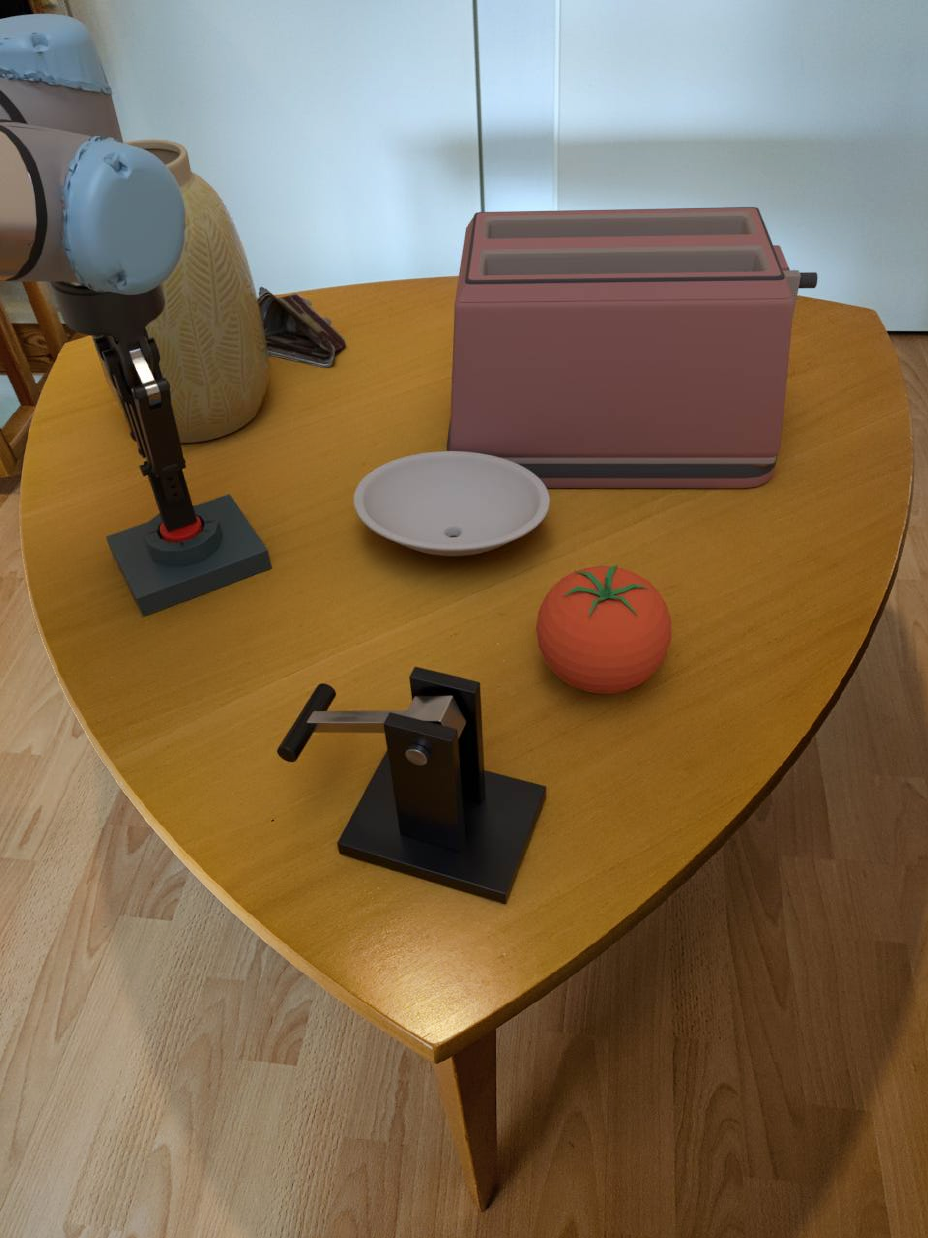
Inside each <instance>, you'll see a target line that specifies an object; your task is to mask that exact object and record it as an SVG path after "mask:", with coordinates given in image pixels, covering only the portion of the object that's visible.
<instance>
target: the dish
mask: <svg viewBox="0 0 928 1238" xmlns="http://www.w3.org/2000/svg"><path fill="white" fill-rule="evenodd" d="M550 505H551V498H550V493H549V490H548V488H546V486H545V485H544V483H543V482H542V481H541V480H540V479H539V478H538V477H537V476H536V475H535V474H534V473H532V472H531V471H529V470H528V469H526V468H524V467H522V466H520V465H518V464H516V463H514V462H511V461H509V460H506V459H503V458H499V457H496V456H492V455H487V454H481V453H474V452H464V451H447V450H443V451H442V450H440V451H429V452H428V451H427V452H422V453H416V454H411V455H407V456H403V457H399V458H396V459H394V460H391V461H388V462H386V463H384V464H382V465H379V466H378V467H376V468H375V469H373V470H371V471H370V472H369V473H367V474H366V475H365V476H364V477H363V478H362V479H361V480H360V482H359V483H358V484H357V486H356V488H355V490H354V494H353V508H354V510H355V513H356V514H357V516H358V518H359V520H360V521H361V522H362V523H363V524H364V525H365V526H366V527H367V528H369V529H370V530H372V532H374V533H376V534H377V535H379V536H381V537H383V538H385V539H387V540H389V541H392V542H394V543H397V544H400V545H401V546H404V547H406V548H408V549H411V550H414V551H416V552H420V553H424V554H427V555H428V554H429V555H433V556H440V557H464V556H465V557H466V556H473V555H478V554H479V555H480V554H483V553H486V552H489V551H493V550H495V549H498V548H501V547H502V546H504V545H507V544H509V543H511V542H513V541H515V540H518V539H521V538H523V537H524V536H525V535H527V534H529V533H531V531H533V530H535V529H536V528H537V527H538V526H539V525H540V524H541V523H542V522H543V521H544V520H545V518H546V516H547V515H548V512H549V509H550Z"/></svg>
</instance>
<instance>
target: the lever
mask: <svg viewBox="0 0 928 1238" xmlns="http://www.w3.org/2000/svg"><path fill="white" fill-rule="evenodd" d="M336 696H337V692H336V690H335V688H334V687H333V686H332V685H330V684H328V683H324V682H322V683H319V684H317V686H316V687H315V689H314V690H313V692H312V694H311V696H310V697H309V698H308V700H307V702H306V703H305V705H304V707H303V708H302V709H301V711H300V712H299V714H298V716H297V717H296V719H295V720H294V722H293V724H292V725H291V726H290V728H289V730H288V732H287V733H286V735H285V736H284V738H283V740H282V741H281V742H280V744H279V746H278V747H277V749H276V754H277V755H278V757H279V758H281V759H282V760H283V761H285V762H288V763H295V762H297V761H298V759H299V758H300V755H301V754H302V752H303V751H304V749H305V747H306V746H307V744H308V743H309V741H310V739H311V738H312V736H313V735H314V734H315V733H316V734H319V733H320V734H329V733H330V734H385V732H384V725H383V723H384V721H385V720H386V718H387V716H388V714H389V712H392V713H395V714H399V715H403V716H407V717H411V718H415V719H419V720H423V721H427V722H431V723H434V724H438V725H442V726H446V727H450V728H454V729H457V732H458V739H459V737H460V735H461V733H462V731H463V729H464V727H465V724H466V720H465V718H464V716H463V714H462V712H461V711H460V709H459V707H458V705H457V703H456V701H455V699H454V697H453V696H415V697H414V699H413V701H412V700H411V702H410V704H409V706H408V708H407V709H398V710H396V709H395V710H394V709H389V710H387V709H386V710H380V709H379V710H329V708H330V706H331V705H332V703H333V701H334V700H335V698H336Z"/></svg>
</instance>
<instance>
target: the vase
mask: <svg viewBox="0 0 928 1238" xmlns="http://www.w3.org/2000/svg"><path fill="white" fill-rule="evenodd" d="M123 143H124V144H128V145H131V146H135V147H139V148H141V149H144V150H146V151H148V152H150V153H152V154H154V155H155V156H156V157H157V158H159V159H160V160H161V161H162V162H163V163H164V164H165V165H166V166H167V168H168V169H169V170H170V172H171V173H172V174H173V176H174V177H175V179H176V181H177V183H178V185H179V188H180V190H181V193H182V196H183V200H184V204H185V210H186V218H185V224H186V228H185V231H184V233H185V242H184V246H183V250H182V253H181V256H180V258H179V260H178V262H177V264H176V266H175V268H174V270H173V271H172V273H171V274H170V275H169V276H168V278H167V279H166V280H165V281H163V282H162V283H161V286H162V289H163V293H164V297H165V307H164V309H163V311H162V313H161V314H160V315H159V316H158V317H157V318H156V319H155V320H153V321H151V322H150V323H149V324H148V325H147V326H146V327H145V328H146V331H147V333H148V337H149V338H152V337H153V338H154V340H155V342H156V344H157V347H158V351H159V354H160V362H159V366H160V370H161V373H162V377H163V378H165V379H167V381H168V382H169V384H170V387H171V388H170V392H171V404H172V408H173V413H174V417H175V421H176V426H177V430H178V435H179V439H180V443H181V444H193V443H194V444H195V443H201V442H207V441H212V440H215V439H220V438H222V437H225V436H227V435H230V434H232V433H234V432H236V431H238V430H240V429H242V428H243V427H244V426H246V425H247V424H248V423H250V422H251V421H252V420H253V419H254V418H255V417H256V415H257V414H258V412H259V411H260V409H261V406H262V404H263V401H264V397H265V394H266V392H267V389H268V385H269V377H270V360H269V359H270V357H269V354H268V350H267V343H266V338H265V332H264V326H263V322H262V317H261V312H260V308H259V303H258V296H257V292H256V287H255V284H254V280H253V275H252V272H251V268H250V265H249V261H248V257H247V255H246V254H247V253H246V251H245V249H244V245H243V243H242V239H241V237H240V236H241V235H240V234H239V231H238V228H237V226H236V223H235V221H234V218H233V216H232V214H231V212H230V209H229V208H228V206H227V204H226V203H225V201H224V199H223V198H222V197H221V195H220V194H219V192H218V191H217V190H216V189H215V188H214V186H213V185H211V184H210V183H209V182H208V181H207V180H206V179H205V178H204V177H202V176H200V175H199V174H197V173H196V172H194V171H193V170H192V168H191V163H190V157H189V153H188V151H187V148H186V147H185V146H184V145H183V144H181V143H180V142H179V143H178V142H176V141H171V140H166V139H140V140H139V139H138V140H129V141H123ZM91 337H92V341H93V344H94V348H95V350H96V354H97V357H98V360H99V363H100V366H101V368H102V372H103V374H104V377H105V379H106V382H107V385H108V387H109V390H110V392H111V395H112V397H113V398H114V401H115V402H116V404H117V405H118V407H119V408H120V409H121V410H122V411H123V409H122V406H121V404H120V401H119V398H118V395H117V392H116V390H115V387H114V385H113V384H112V382H111V380H110V378H109V375H108V372H107V369H106V366H105V363H104V360H102V358H101V357H100V355H99V353H98V352H97V349H96V346H95V343H94V339H93V338H96V337H94V336H91Z"/></svg>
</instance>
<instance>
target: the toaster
mask: <svg viewBox="0 0 928 1238" xmlns="http://www.w3.org/2000/svg"><path fill="white" fill-rule="evenodd" d="M457 279H458V280H457V286H456V293H455V301H454V311H453V312H454V314H453V339H452V342H453V343H452V367H451V368H452V370H451V371H452V372H451V392H450V394H451V395H450V415H449V416H450V417H449V423H448V431H447V433H448V434H447V438H446V439H447V440H446V451H464V452H474V453H481V454H487V455H492V456H496V457H499V458H503V459H506V460H509V461H511V462H514V463H516V464H518V465H520V466H522V467H524V468H526V469H528V470H529V471H531V472H532V473H534V474H535V475H536V476H537V477H538V478H539V479H540V480H541V481H542V482H543V483H544V485H545V486H546V488H547V489H749V488H757V487H759V486H762V485H764V484H766V483H767V482H769V480H770V479H771V478H772V477H773V476H774V475H775V469H776V465H777V461H778V454H779V453H780V450H781V447H782V446H781V445H782V436H783V435H782V434H783V424H784V416H785V415H784V413H785V405H786V404H785V403H786V393H787V392H786V391H787V383H788V382H787V381H788V372H789V361H790V352H791V351H790V349H791V339H792V330H793V329H792V328H793V318H794V313H795V308H796V303H797V298H798V294H799V293H798V292H799V289H816V287H817V285H818V273H817V272H816V271H815V272H813V271H812V272H809V271H808V272H800V270H798V269H790V266H789V265H788V262H787V260H786V257H785V254H784V252H783V250H782V247H781V245H779V244H773V241H772V238H771V236H770V234H769V231H768V228H767V226H766V222H765V221H764V218H763V216H762V213H761V210H760V208H758V207H756V206H731V207H728V206H727V207H681V208H679V207H678V208H677V207H676V208H675V207H674V208H628V209H627V208H626V209H570V210H569V209H568V210H519V211H518V210H514V211H479V212H475V213H474V214H473V217H472V218H471V220H470V221H469V222H468V224H467V226H466V227H465V232H464V238H463V245H462V253H461V260H460V266H459V273H458V278H457Z"/></svg>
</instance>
